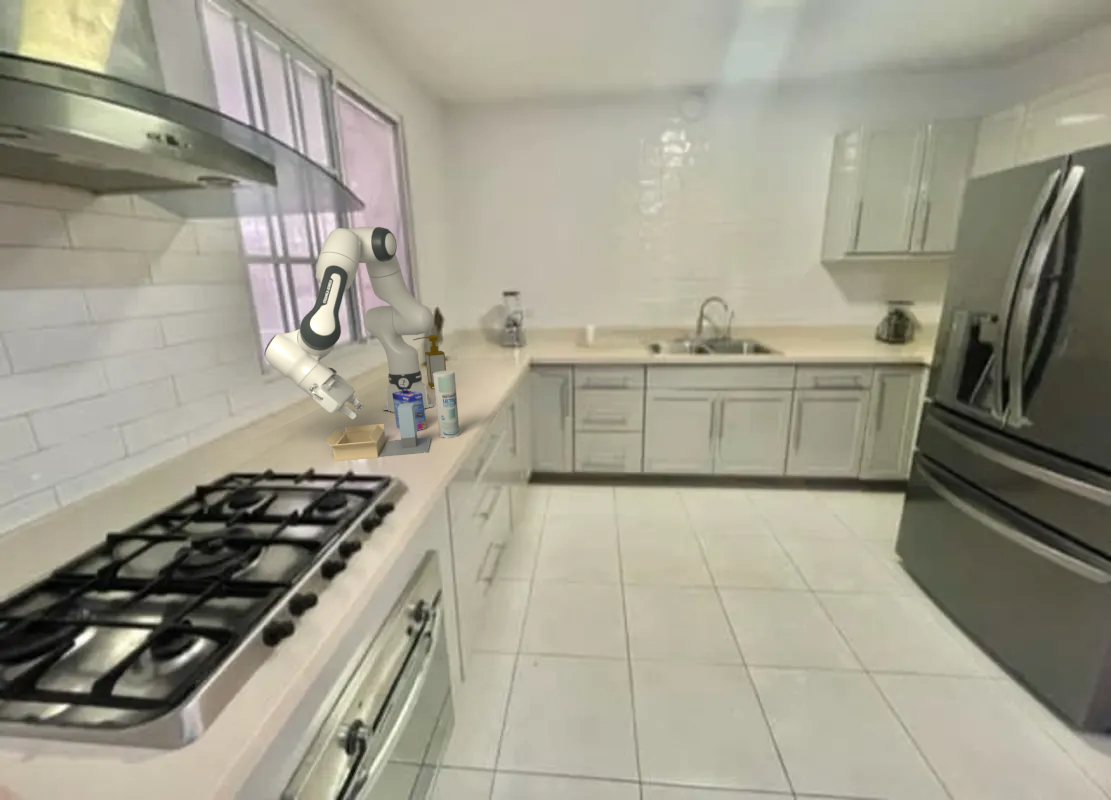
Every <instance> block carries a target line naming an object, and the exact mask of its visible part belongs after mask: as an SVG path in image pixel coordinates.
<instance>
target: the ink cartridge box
mask: <svg viewBox="0 0 1111 800" xmlns="http://www.w3.org/2000/svg"><path fill="white" fill-rule="evenodd" d="M399 387H400V389H401V390H402V391H399V392H394V393H392V395H393V402H394V410H395V412H394V416H395V417H394V418H395V425H396V428H397V427H398V428H397V429H400V426H399V417H398V409H397V408H398V406H399V404H408V403H414V412H415V421H416V431H417V432H419V431H422V430H421V429H423V430H425V429H424V428H426V429H427V419H426V413H425V409H424V404H423V396H422V393H419V392H411V391H409V390H408V389H407V388H406V387H401V386H399ZM402 388H404V389H406V390H403V389H402ZM418 430H419V431H418Z"/></svg>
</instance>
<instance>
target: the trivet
mask: <svg viewBox="0 0 1111 800" xmlns="http://www.w3.org/2000/svg"><path fill="white" fill-rule="evenodd" d="M417 440H418V443H417V446H416V447H411V448H402V444H401V439H393V440H387V441H386V442H385V444H384V446H383V448H382V450H381V452H380V454H379V456H380V457H389V456H401V455H410V454H411V455H412V454H425V453H424V452H426V453H429V450H428V449H429V448H430V446H429V445H431V442H430V441H432V437H431V436H429V437H420V438H419V437H417Z"/></svg>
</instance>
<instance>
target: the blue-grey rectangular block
mask: <svg viewBox="0 0 1111 800" xmlns="http://www.w3.org/2000/svg"><path fill="white" fill-rule="evenodd" d="M397 409H398V417H399V426H400V428H399V433H400V440H401V444H402V448H411V447H416V446H417V443H418V440H417V438H418V431H416V421H415V412H414V403H408V404H399V406H398V408H397Z"/></svg>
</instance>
